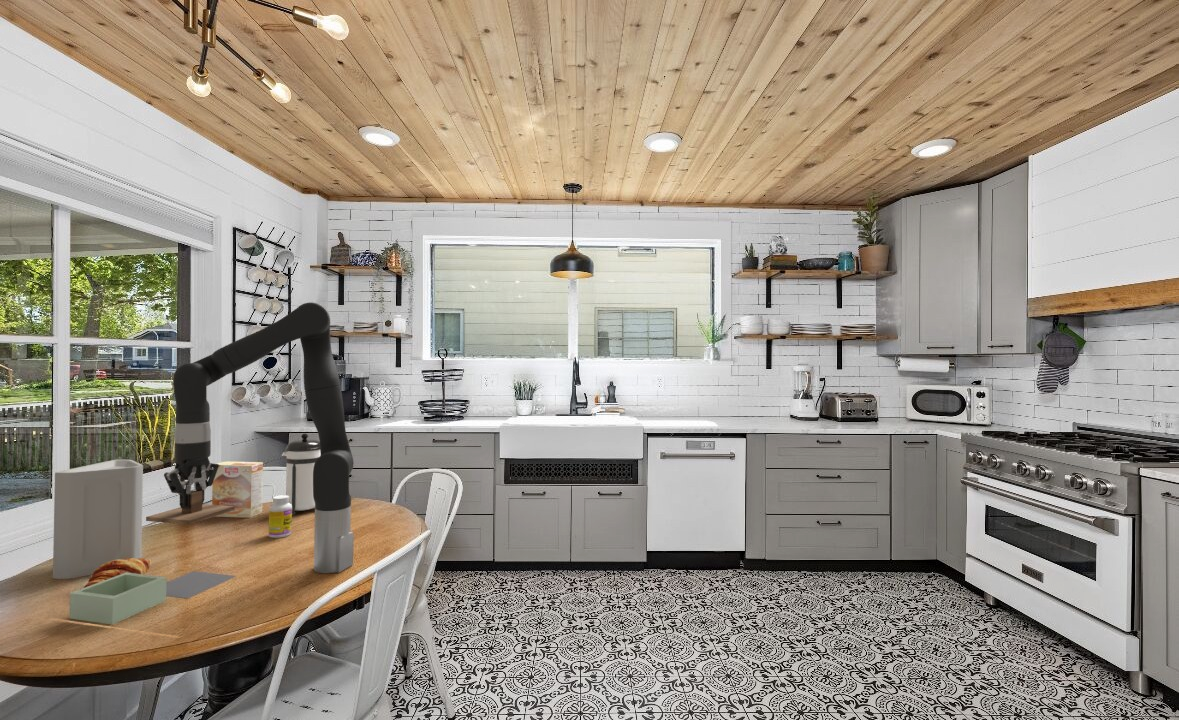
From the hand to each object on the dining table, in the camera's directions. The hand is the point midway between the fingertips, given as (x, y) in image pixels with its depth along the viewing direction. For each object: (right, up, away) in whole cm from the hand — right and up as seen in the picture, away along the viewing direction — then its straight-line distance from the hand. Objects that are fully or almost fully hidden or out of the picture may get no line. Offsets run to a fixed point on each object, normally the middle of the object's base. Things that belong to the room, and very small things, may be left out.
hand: (192, 506), depth 137 cm
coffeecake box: (-30, -21, +62) cm, 72 cm away
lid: (0, -2, 0) cm, 2 cm away
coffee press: (-8, -21, +70) cm, 73 cm away
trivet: (0, -21, 0) cm, 21 cm away
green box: (-6, -20, -14) cm, 26 cm away
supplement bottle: (0, -21, +40) cm, 45 cm away
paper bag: (-32, -20, +13) cm, 40 cm away
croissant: (-19, -21, +1) cm, 28 cm away
